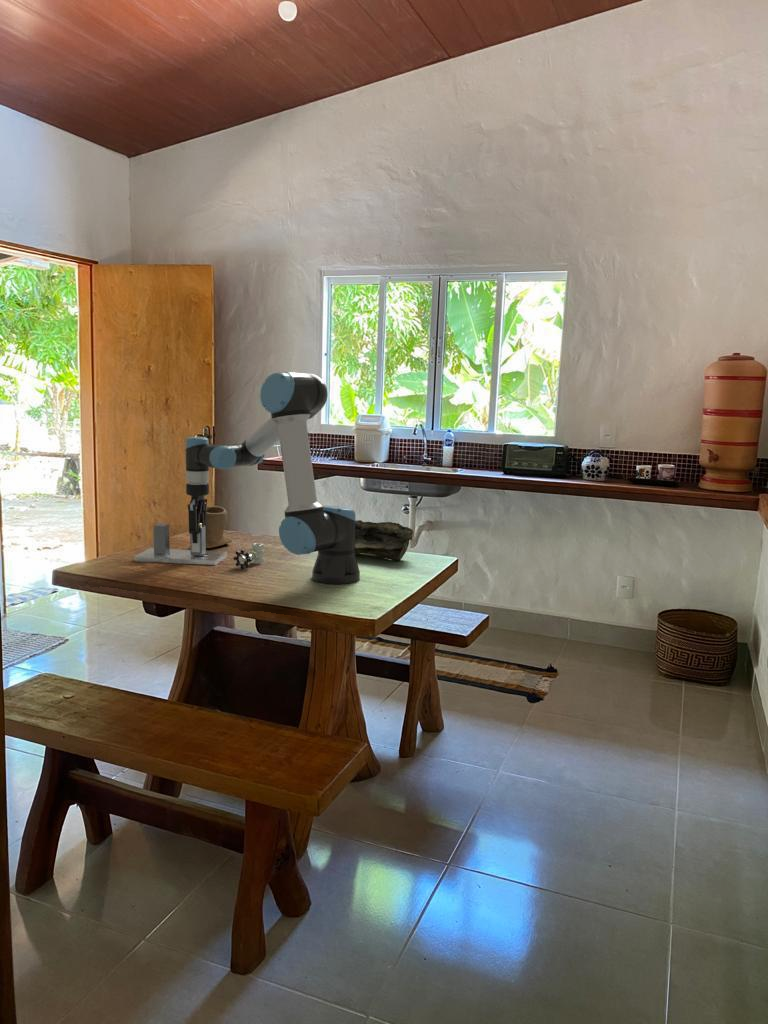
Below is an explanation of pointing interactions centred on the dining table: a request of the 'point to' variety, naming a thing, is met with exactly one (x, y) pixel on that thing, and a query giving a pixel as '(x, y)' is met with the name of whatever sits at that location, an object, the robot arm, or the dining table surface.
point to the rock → (382, 539)
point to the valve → (251, 556)
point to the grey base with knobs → (175, 551)
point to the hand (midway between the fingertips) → (198, 550)
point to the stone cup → (216, 527)
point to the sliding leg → (202, 541)
